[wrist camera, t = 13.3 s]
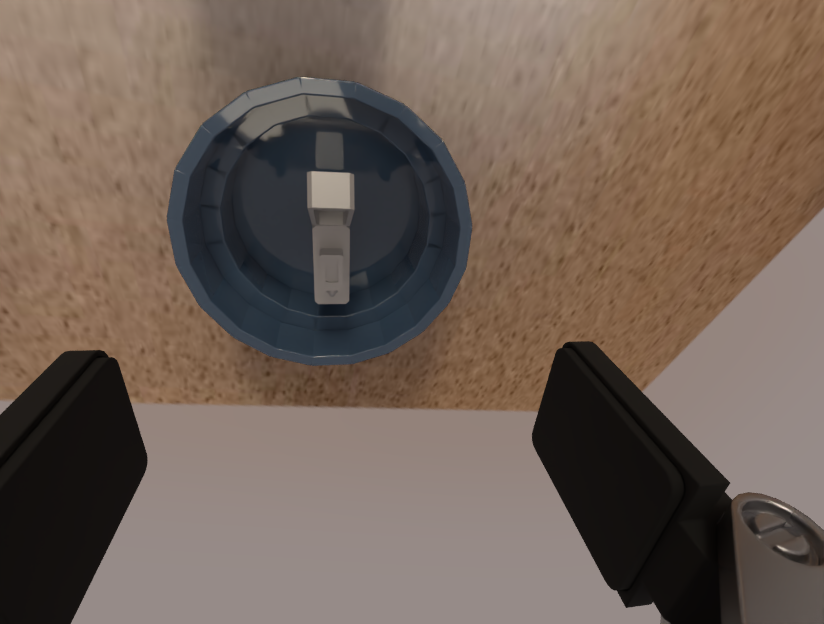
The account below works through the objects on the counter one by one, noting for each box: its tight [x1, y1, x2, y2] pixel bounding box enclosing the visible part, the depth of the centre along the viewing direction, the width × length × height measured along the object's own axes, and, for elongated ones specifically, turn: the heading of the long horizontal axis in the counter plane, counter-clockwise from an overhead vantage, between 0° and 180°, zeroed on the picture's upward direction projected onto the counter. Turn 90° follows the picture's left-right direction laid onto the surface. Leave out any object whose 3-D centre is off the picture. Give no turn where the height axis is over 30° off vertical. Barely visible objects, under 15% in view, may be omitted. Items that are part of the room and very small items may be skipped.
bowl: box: [167, 77, 472, 366], centre depth 21 cm, size 13×13×6 cm
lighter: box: [307, 171, 354, 304], centre depth 20 cm, size 7×2×8 cm, turn 176°
